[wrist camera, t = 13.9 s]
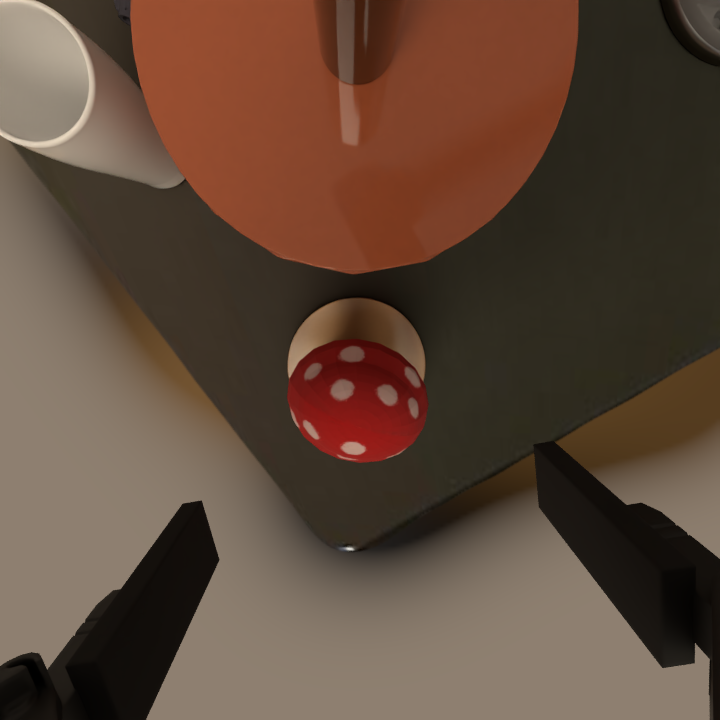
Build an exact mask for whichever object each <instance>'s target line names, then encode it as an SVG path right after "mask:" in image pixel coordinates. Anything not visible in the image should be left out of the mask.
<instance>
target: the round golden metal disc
mask: <svg viewBox="0 0 720 720" xmlns="http://www.w3.org/2000/svg"><path fill="white" fill-rule="evenodd" d="M347 339H361V340H366V341H371V342H376V343H380V344H382V345H384V346H386V347H388V348H390V349H392V350H394V351H396V352H398V353H400V354H401V355H402V356H403V357H404V358H405V359H406V360H407V361H408V362H409V363H411V364H412V365H413V366H414V367H415V368H416V370H417V372H418V374H419V375H420V377H421V379H422V381H423V380H424V375H425V354H424V349H423V346H422V343H421V340H420V338H419V336H418V334H417V332H416V330H415V329H414V327H413V326H412V324H411V323H410V322H409V321H408V320H407V319H406V318H405V317H404V316H403V315H402V314H401V313H400V312H398V311H397V310H396V309H394V308H393V307H391V306H389V305H387V304H385V303H383V302H381V301H377V300H374V299H369V298H363V297H351V298H343V299H339V300H335V301H333V302H330V303H328V304H326V305H324V306H322V307H320V308H319V309H317V310H316V311H315V312H313V313H312V314H311V315H310V316H309V317H308V318H307V319H306V320H305V321H304V322H303V323H302V325H301V326H300V327H299V329H298V330H297V332H296V334H295V336H294V338H293V340H292V343H291V345H290V349H289V353H288V361H287V366H288V377H289V378H290V377H291V375H292V373H293V371H294V369H295V367H296V366H297V364H298V362H299V361H300V360H301V359H302V358H304V357H305V356H306V355H307V354H308V353H309V352H311V351H312V350H313V349H314V348H317V347H319V346H322V345H324V344H327V343H329V342H332V341H335V340H347Z"/></svg>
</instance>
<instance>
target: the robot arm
mask: <svg viewBox="0 0 720 720" xmlns="http://www.w3.org/2000/svg"><path fill="white" fill-rule="evenodd" d="M661 2H662V7H663V10H664V13H665V16H666V19H667V21H668V23H669V26H670V28H671V29H672V31H673V33H674V34H675V36H676V37H677V39H678V40H679V41H680V42H681V44H682V45H683V46H684V47H685V48H686V49H687V50H688V51H690V52H691V53H692V54H693V55H695V56H696V57H698V58H699V59H701V60H703V61H705V62H707V63H710V64H713V65H716V66H720V0H661ZM534 455H535V466H536V478H537V490H538V502H539V508H540V509H541V510H542V512H543V513H544V514H545V516H546V517H547V518H548V519H549V521H550V522H551V523H552V525H553V526H554V527H555V529H556V530H557V531H558V533H559V534H560V535H561V536H562V538H563V539H564V540H565V542H566V543H567V544H568V546H569V547H570V548H571V550H572V551H573V552H574V553H575V555H576V556H577V557H578V559H579V560H580V561H581V563H582V564H583V565H584V566H585V568H586V569H587V570H588V572H589V573H590V574H591V576H592V577H593V578H594V580H595V581H596V582H597V583H598V585H599V586H600V587H601V589H602V590H603V591H604V593H605V594H606V595H607V596H608V598H609V599H610V600H611V602H612V603H613V604H614V606H615V607H616V608H617V609H618V611H619V612H620V613H621V615H622V616H623V617H624V619H625V620H626V621H627V622H628V624H629V625H630V626H631V628H632V629H633V630H634V632H635V633H636V634H637V635H638V637H639V638H640V639H641V641H642V642H643V643H644V645H645V646H646V647H647V649H648V650H649V651H650V652H651V654H652V655H653V656H654V658H655V659H656V660H657V662H658V663H659V664H660V665H661V667H662V668H666V667H673V666H679V665H686V664H692V663H695V643H696V644H697V645H698V647H699V648H700V649H701V650H702V651H703V652H704V653H705V654H706V655H707V656H708V658H709V659H710V669H709V671H710V672H709V695H710V720H720V559H719V558H718V557H717V556H715V555H714V554H713V553H712V552H710V551H709V550H708V549H707V548H705V547H704V546H703V545H702V544H700V543H699V542H698V541H697V540H695V539H694V538H693V537H692V536H690V535H688V534H687V532H685V531H684V530H683V529H682V528H680V527H679V526H676V525H675V523H674V522H673V521H671V520H670V519H669V518H668V517H666V516H665V515H664V514H663V513H662V512H660V511H658V510H656V509H654V508H651V507H650V506H647V505H645V504H643V503H637V504H631V505H626V504H625V503H623V502H622V501H621V500H620V499H619V498H618V497H617V496H615V495H614V494H613V493H612V492H611V491H610V490H609V489H608V488H606V487H605V486H604V485H603V484H602V483H601V482H599V481H598V480H597V479H596V478H595V477H594V476H593V475H592V474H590V473H589V472H588V471H587V470H586V469H584V467H582V466H581V465H580V464H579V463H578V462H577V461H575V460H574V459H573V458H572V457H571V456H570V455H569V454H568V453H566V452H565V451H564V450H563V449H562V448H561V447H560V446H558V445H557V444H556V443H555V442H554V441H551V442H545V443H539V444H534ZM218 562H219V557H218V554H217V550H216V547H215V544H214V541H213V537H212V534H211V530H210V527H209V523H208V520H207V517H206V513H205V510H204V507H203V503H202V501H196V502H191V503H184V504H182V505H181V507H180V508H179V510H178V511H177V512H176V514H175V515H174V517H173V518H172V519H171V521H170V522H169V523H168V525H167V526H166V528H165V529H164V530H163V532H162V533H161V534H160V536H159V537H158V539H157V540H156V542H155V543H154V544H153V546H152V547H151V548H150V550H149V551H148V552H147V554H146V555H145V557H144V558H143V559H142V561H141V562H140V563H139V565H138V566H137V568H136V569H135V570H134V572H133V573H132V574H131V576H130V577H129V579H128V580H127V581H126V583H125V584H124V586H123V587H122V588H121V589H120V590H113V591H112V592H111V593H110V594H109V595H107V596H106V597H105V598H104V599H103V600H102V601H101V602H99V603H98V604H97V605H96V607H95V608H94V609H93V611H92V612H91V613H90V614H89V616H88V617H87V618H86V620H85V623H83V624H82V625H81V626H80V628H79V629H78V630H77V632H76V634H75V636H73V637H72V638H71V639H70V641H69V642H68V643H67V645H66V646H65V647H64V649H63V650H62V651H61V652H60V654H59V655H58V656H57V658H56V659H55V660H54V662H53V663H52V664H51V666H50V667H49V668H48V670H47V669H46V666H45V664H44V662H43V660H42V658H41V656H40V655H39V654H38V653H32V652H31V653H27V654H23V655H20V656H18V657H16V658H14V659H12V660H9V661H7V662H6V663H4V664H3V665H1V666H0V720H146V718H147V716H148V714H149V712H150V709H151V707H152V705H153V703H154V701H155V699H156V696H157V694H158V692H159V690H160V688H161V685H162V683H163V681H164V679H165V677H166V675H167V673H168V670H169V668H170V666H171V664H172V662H173V660H174V657H175V655H176V653H177V651H178V649H179V647H180V644H181V642H182V640H183V638H184V636H185V634H186V631H187V629H188V627H189V625H190V623H191V620H192V618H193V616H194V614H195V612H196V610H197V607H198V605H199V603H200V601H201V599H202V596H203V594H204V592H205V590H206V588H207V586H208V584H209V581H210V579H211V577H212V575H213V573H214V570H215V568H216V566H217V564H218Z"/></svg>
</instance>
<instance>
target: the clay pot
mask: <svg viewBox="0 0 720 720" xmlns="http://www.w3.org/2000/svg"><path fill="white" fill-rule="evenodd" d="M578 2H579V0H131V11H130V19H131V30H132V41H133V52H134V57H135V62H136V66H137V71H138V76H139V81H140V85H141V88H142V92H143V95H144V98H145V101H146V104H147V107H148V110H149V113H150V116H151V118H152V120H153V123H154V125H155V127H156V129H157V131H158V133H159V136H160V138H161V140H162V142H163V144H164V146H165V148H166V149H167V151H168V153H169V154H170V156H171V158H172V159H173V161H174V163H175V164H176V166H177V168H178V169H179V171H180V172H181V174H182V175H183V176H184V177H185V179H186V180H187V181H188V183H189V184H190V185H191V186H192V188H193V189H194V190H195V192H196V193H197V194H198V195H199V196H200V197H201V198H202V199H203V200H204V201H205V203H206V204H207V205H208V206H209V207H210V208H211V210H212V211H214V213H215V214H217V215H218V216H219V217H221V218H222V219H223V220H225V221H226V222H227V223H228V224H230V225H231V226H232V227H233V228H235V229H236V230H237V231H238V232H240V233H241V234H243V235H244V236H246V237H248V238H249V239H251V240H252V241H254V242H256V243H257V244H259V245H261V246H262V247H264V248H265V249H267V250H268V251H270V252H271V253H273V254H274V255H276V256H277V257H278V258H281V259H285V260H290V261H294V262H299V263H303V264H308V265H312V266H316V267H321V268H326V269H330V270H334V271H339V272H343V273H348V274H360V273H366V272H371V271H377V270H382V269H388V268H394V267H399V266H404V265H410V264H415V263H421V262H426V261H429V260H430V259H432V258H433V257H435V256H436V255H438V254H439V253H441V252H443V251H445V250H446V249H448V248H450V247H452V246H454V245H455V244H457V243H459V242H461V241H463V240H464V239H466V238H467V237H469V236H470V235H471V234H473V233H474V232H476V231H477V230H478V229H480V228H481V227H482V226H484V225H485V224H486V223H488V222H489V221H491V220H492V219H493V218H494V217H495V216H496V214H497V213H498V212H499V211H500V210H501V209H502V208H504V207H505V206H506V205H507V204H508V203H509V201H510V200H511V199H512V198H513V197H514V195H515V194H516V193H517V192H518V191H519V189H520V188H521V187H522V186H523V184H524V183H525V182H526V181H527V179H528V178H529V176H530V175H531V173H532V172H533V170H534V168H535V167H536V165H537V164H538V162H539V161H540V159H541V158H542V156H543V154H544V152H545V150H546V148H547V146H548V144H549V142H550V140H551V138H552V136H553V134H554V132H555V130H556V127H557V125H558V122H559V119H560V116H561V113H562V111H563V108H564V105H565V102H566V99H567V96H568V91H569V87H570V83H571V79H572V74H573V70H574V65H575V57H576V48H577V40H578Z"/></svg>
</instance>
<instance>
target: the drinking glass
mask: <svg viewBox="0 0 720 720" xmlns="http://www.w3.org/2000/svg"><path fill="white" fill-rule="evenodd" d="M0 135H1V136H2V137H4V138H5V139H7V140H9V141H11V142H14V143H16V144H18V145H21V146H23V147H25V148H27V149H29V150H32V151H34V152H36V153H39V154H41V155H44V156H46V157H49V158H52V159H54V160H57V161H60V162H63V163H66V164H69V165H72V166H76V167H79V168H83V169H87V170H91V171H95V172H99V173H104V174H108V175H112V176H116V177H121V178H125V179H129V180H133V181H137V182H141V183H144V184H147V185H149V186H152V187H155V188H161V189H166V188H172V187H174V186H177V185H178V184H180V183H181V182H182V181H183V180H184V179H185V177H184V176H183V175H182V174H181V172H180V171H179V169H178V168H177V166H176V164H175V163H174V161H173V159H172V158H171V156H170V154H169V153H168V151H167V149H166V148H165V146H164V144H163V142H162V140H161V138H160V136H159V133H158V131H157V129H156V127H155V125H154V123H153V120H152V118H151V116H150V113H149V110H148V107H147V104H146V101H145V98H144V95H143V92H142V90H141V89H140V88H139V87H138V85H137V84H136V83H135V82H134V81H133V80H132V79H131V78H130V77H129V75H128V74H127V73H126V72H125V71H124V70H123V69H122V68H121V67H120V66H119V65H118V64H117V63H116V62H115V61H114V60H113V59H112V58H111V57H110V56H109V55H108V54H107V53H106V52H105V51H104V50H103V49H102V48H101V47H99V46H98V45H97V44H96V43H95V42H94V41H93V40H91V39H90V38H89V37H88V36H87V35H85V34H84V33H83V32H82V31H81V30H79V29H78V28H77V27H76V26H74V25H73V24H72V23H70V22H69V21H68V20H67V19H65V18H64V17H63V16H62V15H60V14H59V13H58V12H56V11H55V10H53V9H52V8H50V7H48V6H47V5H45V4H43V3H40V2H38V1H35V0H0Z"/></svg>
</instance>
